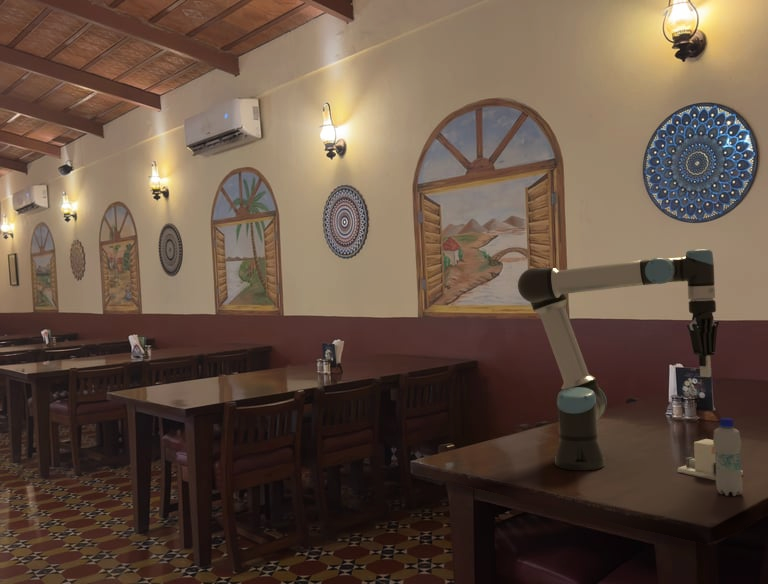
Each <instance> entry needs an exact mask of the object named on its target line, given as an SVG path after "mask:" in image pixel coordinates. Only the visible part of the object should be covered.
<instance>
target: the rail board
mask: <svg viewBox="0 0 768 584" xmlns="http://www.w3.org/2000/svg"><path fill="white" fill-rule="evenodd" d="M713 468H714V472H713V473H709V472H704V471H700V470H695V457H694V456H693V457H692V456H689V457H685V465H683V466H679V467H677V472H678V473H681V474H686V475H690V476H694V477H699V478H703V479H708V480H712V481H716V463H713ZM741 475H742V476H744V470H741Z"/></svg>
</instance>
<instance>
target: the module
mask: <svg viewBox="0 0 768 584" xmlns="http://www.w3.org/2000/svg"><path fill="white" fill-rule="evenodd" d="M693 453H694V458H695V470H700V471H704V472H709V473H713V472H714V468H713V463H716V457H715V448H714V443H713V439H709V438H705V439H700V440H698V441H697V440H696V441H694V442H693Z"/></svg>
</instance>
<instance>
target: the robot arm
mask: <svg viewBox="0 0 768 584" xmlns="http://www.w3.org/2000/svg"><path fill="white" fill-rule="evenodd" d="M672 282H673V283H678V282H687V298H688V300H689V302H688V312H689V313H690V314H692V318H691V323H687V324H686V327H687V329H688V332H689V337H690V341H691V346H692V352H693V354H694V355H695V356H698V364H699V374H700V375H699V376H700V377H701V378H704V377H705V378H711V377H712V358H711V356H714V355H715V352H716V345H717V334H718V327H719V325H720V322H719V321H718V320H714V314H713V313H716V311H717V305H716V300H714V299H715V298H716V289H715V263H714V255H713V251H712V250H711V249H706V248H705V249H693V250H687V251H686V253H685V256H683V257H668V258H665V257H655V258H652V259H651V258H650V259H642V260H634V261H624V262H618V263H611V264H609V263H608V264H603V265H592V266H586V267H577V268H569V269H562V270H561V269H560V270H559V269H557V268H556V267H552V268H551V267H546V266H542V267H532V268H528V269H527V270H525V271H524V272H522V274H521V275H520V276H519V278H518V281H517V289H518V293H519V295H520V296H521V298H523V300H525V301H526V302H529V303H530V305H531V307H532V310H533V312H534V313H536V314H539V316H540V320H541V322H542V325H543V327H544V331H545V333H546V336H547V338H548V341H549V345H550V347H551V349H552V353H553V355H554V357H555V360H556V363H557V366H558V369H559V373H560V375H561V378H562V381H563V384H562V386H561V390H560V391H559V392H558V394H557V399H556V405H557V417H558V418H557V422H558V434H559V435H558V437H559V441H558V445H557V448H556V449H557V450H556V454H555V456H554V465H555V466H556V467H558V468H560V469H564V470H569V471H570V470H571V471H592V470H598V469H601V468H604V467H605V465H606V463H605V462H606V461H605V460H606V459H605V456H604V454H603V452H602V449H601V446H600V442H599V439H598V425H597V424H598V420H599V419H601V418H602V417H603V415H604V414H605V411H606V410H607V409H606V408H607V402H608V401H607V397H606V394H605V392H603V390H602V389H601V388H600V387H599V384H598V381H597V379H596V377H594V376H593V375H591V374H590V373H589V370H588V368H587V365H586V362H585V360H584V356H583V354H582V351H581V349H580V345H579V343H578V339H577V338H576V335H575V332H574V329H573V327H572V324H571V321H570V318H569V315H568V313H567V311H566V308H565V305H566V304H567V301H568V300H567V296H566V295H567V294H574V293H575V294H577V293H583V292H584V293H585V292H594V291H604V290H613V289H619V288H620V289H621V288H628V287H630V288H631V287H640V286H648V285H650V286H651V285H660V284H661V285H662V284H667V283H672Z"/></svg>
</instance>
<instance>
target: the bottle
mask: <svg viewBox="0 0 768 584" xmlns="http://www.w3.org/2000/svg"><path fill="white" fill-rule="evenodd" d="M718 422H719V427H717V428H715V429H714V430H713V439H712V440H713V443H714V448H715V457H716V480H715V485H716V488H717V491H718V493H719V494H720V495H723V494H724V495H725V496H726V497H727V496H729V494H730V493H731V494H732V496H733V497H736V496H740V495H741V494H742V493H743V487H744V485H743V477H742V476H743V475H741V471H742V463H741V449H742V439H741V434H740V431H739V430H738V429H736V428H735V425H734V420H733V419H732V418H729V417H722V418H720V419H719V421H718Z"/></svg>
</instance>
